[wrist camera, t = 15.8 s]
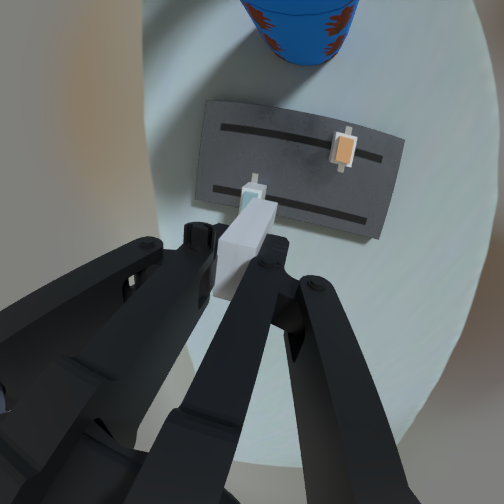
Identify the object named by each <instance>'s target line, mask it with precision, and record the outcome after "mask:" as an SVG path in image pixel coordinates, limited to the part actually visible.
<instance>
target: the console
mask: <svg viewBox="0 0 504 504" xmlns="http://www.w3.org/2000/svg"><path fill="white" fill-rule="evenodd" d="M334 132H340V133H344V134H348V135H352V136H355V137H357V142H356V147H355V152H354V157H353V162H352V166H351V167H347V166H343V165H339V164H335V163H331V162H330V161H329V155H330V150H331V145H332V140H333V135H334ZM404 142H405V140H404V139H401V138H398V137H395V136H392V135H389V134H386V133H383V132H380V131H377V130H373V129H370V128H367V127H363V126H360V125H356V124H352V123H349V122H345V121H341V120H337V119H333V118H328V117H324V116H319V115H315V114H310V113H305V112H300V111H294V110H289V109H283V108H276V107H270V106H263V105H255V104H247V103H237V102H227V101H214V100H206V107H205V114H204V121H203V129H202V136H201V145H200V153H199V162H198V172H197V182H196V192H195V199H197V200H202V201H208V202H213V203H218V204H224V205H229V206H234V207H240V200H241V193H242V187H243V186H244V185H246V184H247V183H248V182H252V183H258V184H263V185H267V189H266V195H265V200H268V201H272V202H277V203H278V205H277V210H276V215H277V216H282V217H286V218H291V219H295V220H300V221H304V222H309V223H313V224H317V225H322V226H326V227H330V228H334V229H338V230H342V231H347V232H351V233H355V234H359V235H363V236H366V237H370V238H374V239H378V240H379V237H380V234H381V231H382V228H383V225H384V221H385V218H386V215H387V211H388V208H389V204H390V201H391V197H392V193H393V190H394V186H395V182H396V178H397V174H398V169H399V165H400V161H401V156H402V152H403V147H404Z"/></svg>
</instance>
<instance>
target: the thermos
mask: <svg viewBox="0 0 504 504" xmlns="http://www.w3.org/2000/svg"><path fill="white" fill-rule="evenodd" d="M240 1H241V3H242V4H243V6H244V7H245V9H246V11H247V12H248V14H249V15H250V17H251V19H252V20H253V22H254V24H255V26H256V27H257V29H258V31H259V32H260V34H261V36H262V38H263V39H264V40H265V42H266V43H267V44H268V45H269V47H270V48H271V49H272V50H273V51H274V52H275V54H276V55H277V56H279V57H281V58H282V59H284V60H286V61H287V62H290V63H294V64H298V65H317V64H320V63H323V62H326V61H328V60H330V59H331V58H332V57H333V56H335V55H336V54H337V53H338V51H339V49H340V48H341V46H342V44H343V42H344V40H345V38H346V36H347V34H348V31H349V28H350V26H351V23H352V20H353V17H354V14H355V11H356V8H357V5H358V2H359V0H240Z"/></svg>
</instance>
